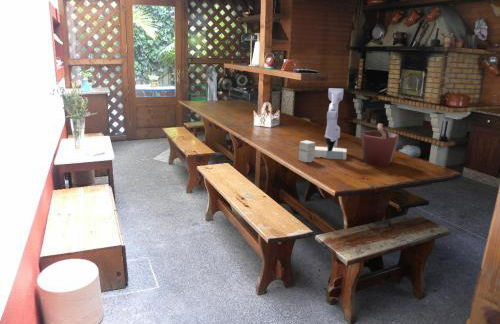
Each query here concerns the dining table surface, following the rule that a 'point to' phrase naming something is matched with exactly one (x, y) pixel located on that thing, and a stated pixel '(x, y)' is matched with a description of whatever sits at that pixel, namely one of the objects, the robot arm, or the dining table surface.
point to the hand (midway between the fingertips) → (329, 149)
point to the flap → (334, 154)
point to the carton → (322, 151)
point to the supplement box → (306, 151)
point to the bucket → (378, 146)
